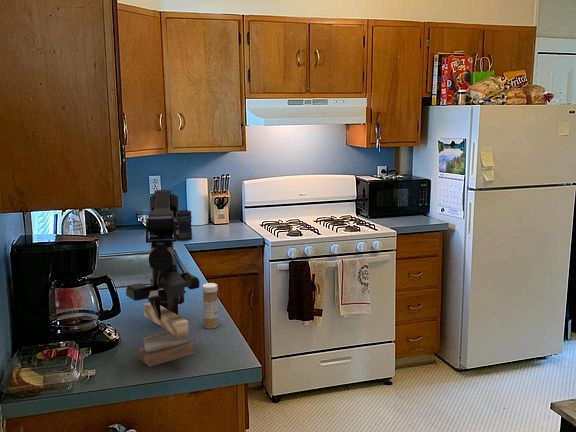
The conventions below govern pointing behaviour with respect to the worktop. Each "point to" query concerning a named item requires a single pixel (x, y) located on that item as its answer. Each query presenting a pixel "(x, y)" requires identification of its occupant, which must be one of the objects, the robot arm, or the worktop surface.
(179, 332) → the batten
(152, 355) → the ridge
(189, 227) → the storage jar
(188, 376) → the worktop surface
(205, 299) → the sprinkles bottle
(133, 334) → the worktop surface
